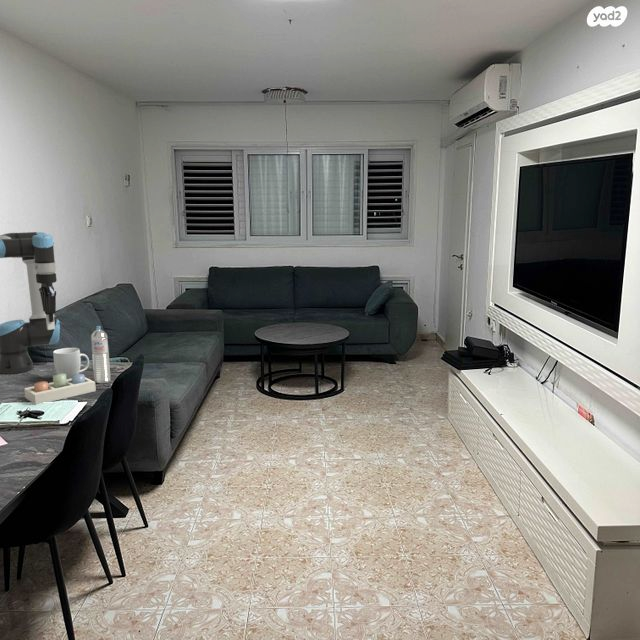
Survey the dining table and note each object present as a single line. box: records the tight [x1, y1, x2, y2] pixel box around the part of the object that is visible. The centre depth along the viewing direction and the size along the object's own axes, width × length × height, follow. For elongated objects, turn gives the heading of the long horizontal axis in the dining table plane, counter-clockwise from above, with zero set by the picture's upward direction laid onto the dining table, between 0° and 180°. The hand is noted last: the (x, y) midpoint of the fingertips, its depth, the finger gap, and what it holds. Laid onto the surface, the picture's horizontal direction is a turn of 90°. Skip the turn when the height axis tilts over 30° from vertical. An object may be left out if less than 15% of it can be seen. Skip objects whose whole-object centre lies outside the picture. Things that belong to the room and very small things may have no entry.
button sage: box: [52, 373, 67, 388], centre depth 237 cm, size 5×5×5 cm
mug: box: [52, 347, 90, 380], centre depth 260 cm, size 15×11×13 cm
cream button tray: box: [23, 376, 97, 405], centre depth 238 cm, size 12×24×4 cm, turn 135°
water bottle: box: [90, 325, 111, 384], centre depth 253 cm, size 7×7×25 cm
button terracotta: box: [33, 380, 48, 393], centre depth 232 cm, size 5×5×5 cm
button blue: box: [72, 373, 86, 384], centre depth 243 cm, size 5×5×5 cm
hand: (51, 328), depth 240 cm, fingers closed
